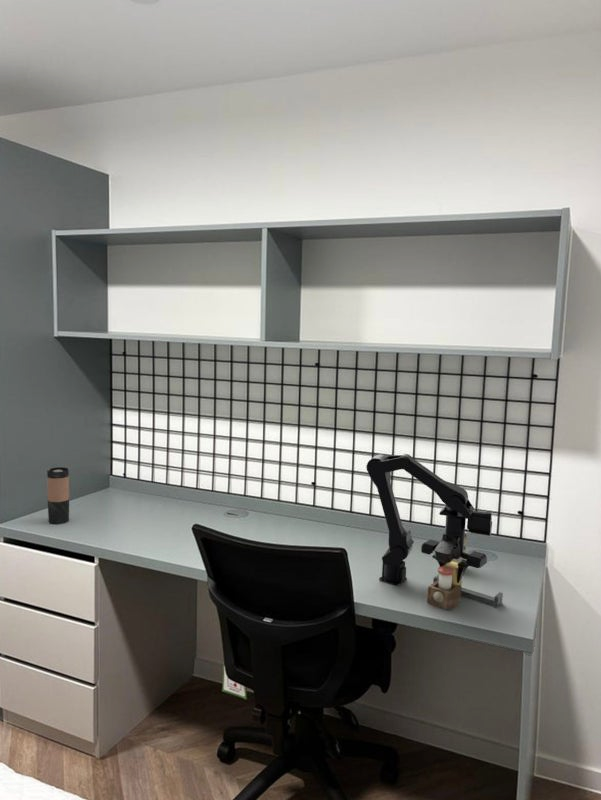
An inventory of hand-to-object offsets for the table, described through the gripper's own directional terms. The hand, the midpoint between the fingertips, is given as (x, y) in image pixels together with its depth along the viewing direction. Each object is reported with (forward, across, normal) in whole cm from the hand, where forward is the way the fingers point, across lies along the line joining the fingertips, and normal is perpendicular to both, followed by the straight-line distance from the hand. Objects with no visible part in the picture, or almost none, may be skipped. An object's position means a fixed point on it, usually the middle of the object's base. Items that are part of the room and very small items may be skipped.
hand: (451, 580), depth 192 cm
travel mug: (+3, -139, -44) cm, 146 cm away
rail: (+3, +5, 0) cm, 6 cm away
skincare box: (+3, -7, +17) cm, 19 cm away
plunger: (0, +2, -9) cm, 9 cm away
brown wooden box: (+3, +2, -9) cm, 10 cm away
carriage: (+3, 0, 0) cm, 3 cm away
